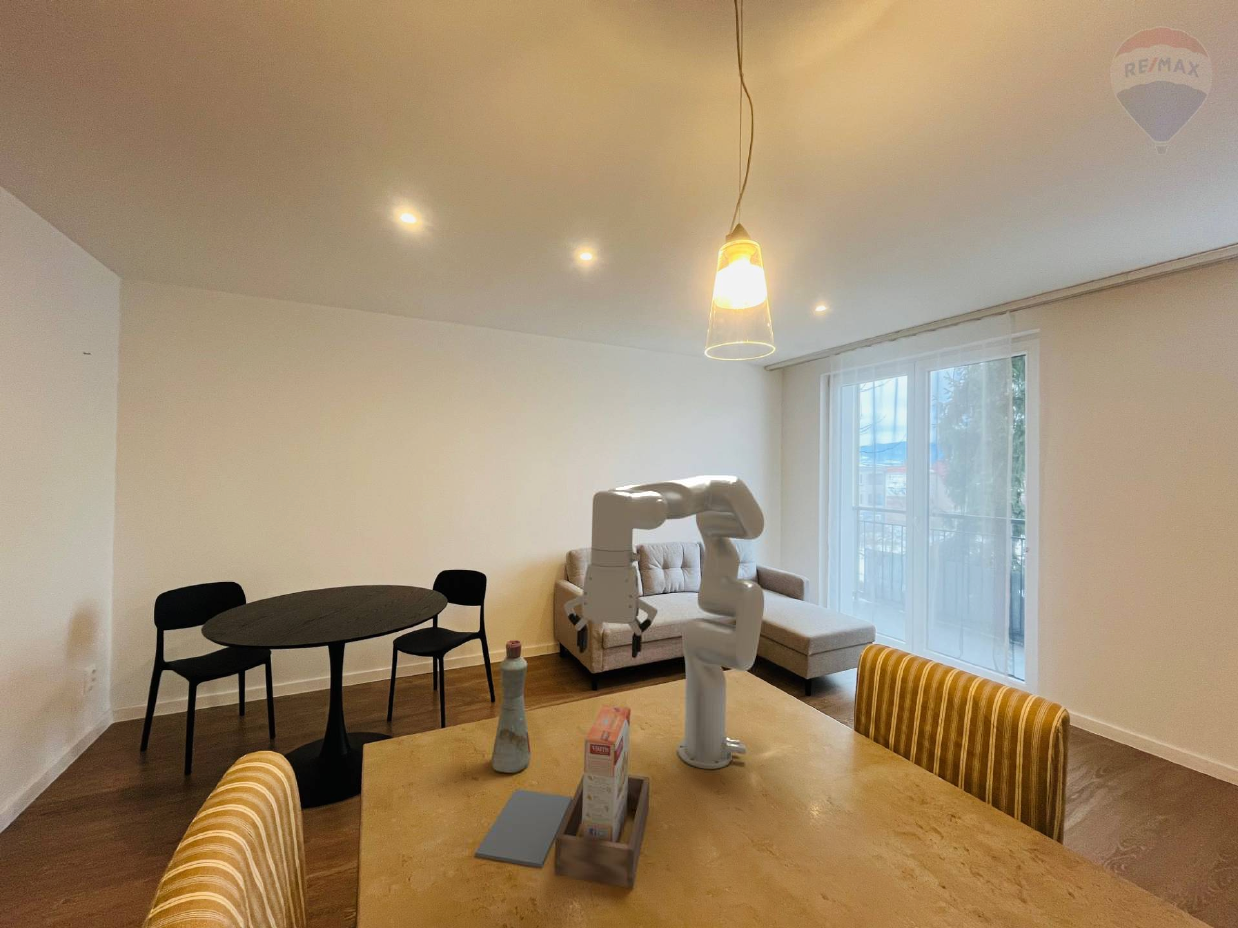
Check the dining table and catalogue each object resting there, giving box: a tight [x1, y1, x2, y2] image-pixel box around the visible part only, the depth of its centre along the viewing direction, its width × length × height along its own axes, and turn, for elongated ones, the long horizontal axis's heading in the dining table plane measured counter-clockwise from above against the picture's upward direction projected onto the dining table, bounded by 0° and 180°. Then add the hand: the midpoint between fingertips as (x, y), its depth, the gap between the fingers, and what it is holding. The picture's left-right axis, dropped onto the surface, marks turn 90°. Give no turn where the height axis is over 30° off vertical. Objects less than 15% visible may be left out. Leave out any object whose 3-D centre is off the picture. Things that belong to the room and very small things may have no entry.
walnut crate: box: [553, 773, 650, 890], centre depth 91 cm, size 13×20×6 cm, turn 169°
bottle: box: [490, 639, 531, 774], centre depth 114 cm, size 9×9×28 cm
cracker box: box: [580, 704, 631, 843], centre depth 91 cm, size 14×6×21 cm, turn 168°
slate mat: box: [474, 788, 573, 869], centre depth 93 cm, size 12×18×1 cm, turn 169°
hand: (608, 652), depth 91 cm, fingers open, 9 cm apart
